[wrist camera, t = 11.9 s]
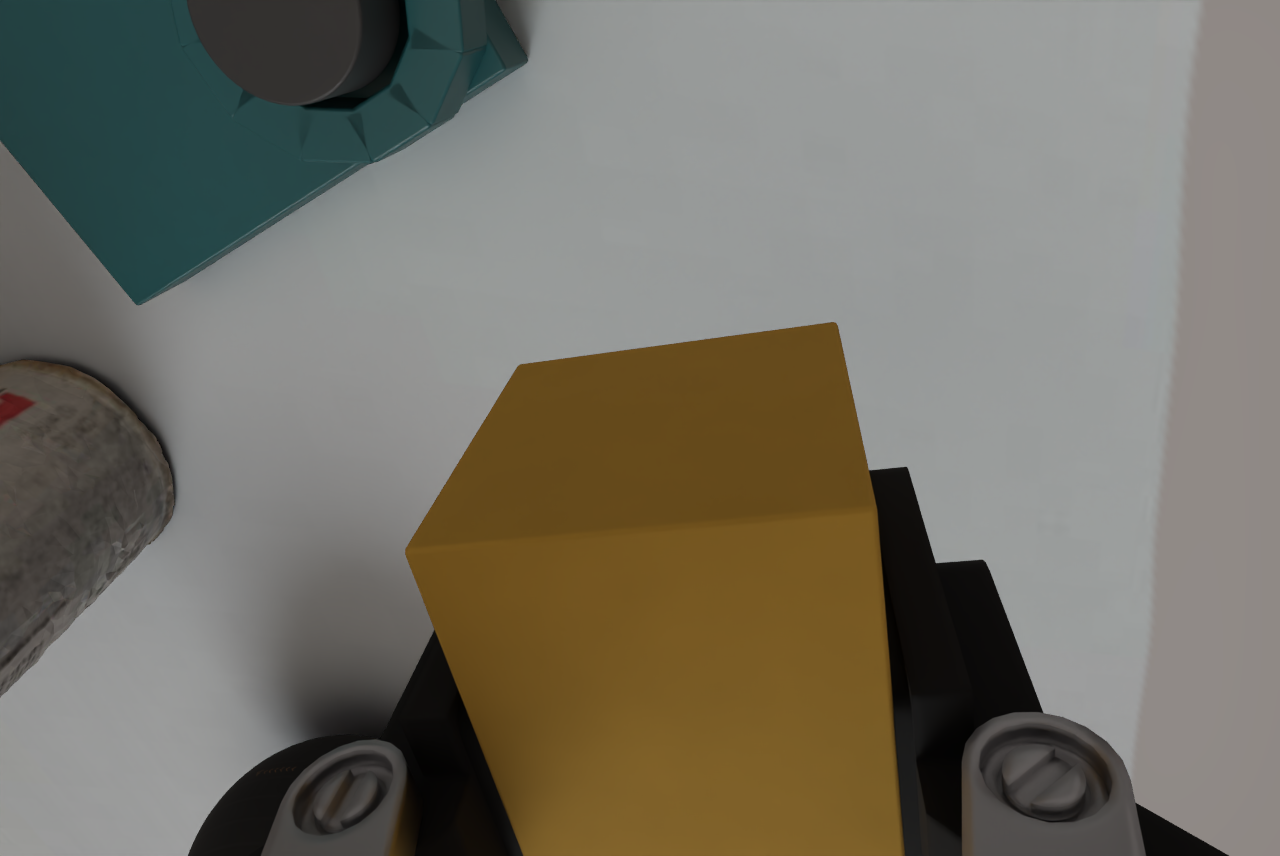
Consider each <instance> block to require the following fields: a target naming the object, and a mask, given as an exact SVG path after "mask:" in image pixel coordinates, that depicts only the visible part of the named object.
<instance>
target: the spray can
mask: <svg viewBox="0 0 1280 856" xmlns="http://www.w3.org/2000/svg"><path fill="white" fill-rule="evenodd" d="M162 453H163V452H162V449H161V447H160V444H159V442H157V439H156V437H155V436H154V435H153V433H151V432H150V431H149V430H148V429H147V428H146V426H145V425H144V424H143V423H142V422H141V421H140V420H138V418H137V415H136V414H135V413H134V412H133V411H132V410H131V409H130V408H129V407H128V406H127V405H126V404H125V403H124V402H123V401H122V400H121V399H120V398H118V397H117V396H116V395H115V394H114V393H113V392H112V391H111V390H110V389H109V388H107V387H106V386H104V385H103V384H102V383H100V382H99V381H98V380H96V379H95V378H93V377H91V376H89V375H87V374H84V373H82V372H80V371H78V370H76V369H75V368H73V367H70V366H64V365H59V364H53V363H48V362H40V361H33V360H19V361H15V362H10V363H7V364H3V365H0V697H1V696H2V695H3V694H4V693H6V692H7V691H8V689H9V688H10V687H11V686H12V685H13V684H14V683H15V682H17V681H18V680H19V678H20V677H21V676H22V675H23V674H24V673H25V672H26V671H27V670H28V669H30V668H31V667H32V666H33V665H35V664H36V663H37V662H38V660H39V658H40V657H41V656H42V655H43V653H44V652H45V650H46V649H47V648H48V647H49V646H50V645H51V644H52V643H53V642H54V641H56V640H57V639H58V638H59V637H60V636H61V635H62V634H63V633H64V632H65V631H66V630H67V629H68V628H69V626H70V625H71V624H72V622H73V621H74V620H75V618H76V617H78V616H79V615H80V614H81V613H82V612H83V611H84V610H85V609H86V608H87V607H88V606H90V605H91V604H92V603H93V602H95V600H96V599H97V597H98V596H99V595H100V594H101V593H102V592H103V591H104V590H105V589H106V588H107V587H108V586H109V585H110V584H111V583H112V582H113V580H114V579H115V578H116V577H118V576H119V575H120V574H121V573H122V572H123V571H124V570H125V568H126V567H127V566H128V565H129V564H130V563H131V562H132V561H133V560H134V559H135V558H136V557H137V556H138V555H139V554H140V552H141V551H142V550H143V549H144V548H145V546H146V545H148V544H151V542H152V541H154V540H155V539H156V538H157V537H158V536H159V534H160V533H161V532H162V531H163V530H164V527H165V526H166V525H167V524H168V522H169V521H170V519H171V517H172V515H173V506H174V505H175V501H174V495H173V494H172V493H173V486H172V484H173V482H172V475H171V473H170V472H171V470H170V469H169V464H168V463H167V461H166V460H165V457H164V456H163V455H162Z"/></svg>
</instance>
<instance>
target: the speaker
mask: <svg viewBox="0 0 1280 856" xmlns="http://www.w3.org/2000/svg"><path fill="white" fill-rule="evenodd" d="M375 739H376V740H380V739H377V738H373V737H367V736H359V735H335V736H326V737H321V738H316V739H312V740H308V741H305V742H302V743H299V744H296V745H293V746H291V747H288V748H286V749H284V750H282V751H280V752H278V753H276V754H274V755H272V756H271V757H269V758H267V759H266V760H264V761H262V762H261V763H259V764H258V765H257V766H255V767H254V768H253V769H251V770H250V771H249V772H247V773H246V774H245V775H244V776H243V777H241V778H240V779H239V780H238V781H237V782H236V783H235V784H234V785H233V786H232V787H231V788H230V789H229V790H228V791H227V792H226V793H225V795H224V796H223V797H222V798H221V799H220V800H219V802H218V803H217V804H216V806H215V807H214V808H213V810H212V811H211V812H210V814H209V815H208V817H207V818H206V820H205V822H204V823H203V825H202V827H201V828H200V830H199V832H198V834H197V836H196V838H195V840H194V842H193V845H192V847H191V849H190V852H189V854H188V856H248V855H249V854H251V853H252V852H254V851H255V850H257V849H258V848H260V847H261V846H263V845H264V844H266V841H267V838H268V836H269V833H270V830H271V828H272V825H273V822H274V820H275V817H276V815H277V812H278V809H279V807H280V804H281V802H282V800H283V798H284V796H285V794H286V792H287V791H288V789H289V787H290V785H291V784H292V783H293V782H294V781H295V780H296V778H297V777H298V776H299V775H300V774H301V773H302V772H303V770H304V769H306V768H307V767H308V766H310V765H311V764H312V763H313V762H315V761H316V760H317V759H318V758H320V757H321V756H323V755H325V754H327V753H328V752H330V751H332V750H334V749H336V748H338V747H340V746H343V745H346V744H349V743H353V742H356V741H361V740H375Z"/></svg>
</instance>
